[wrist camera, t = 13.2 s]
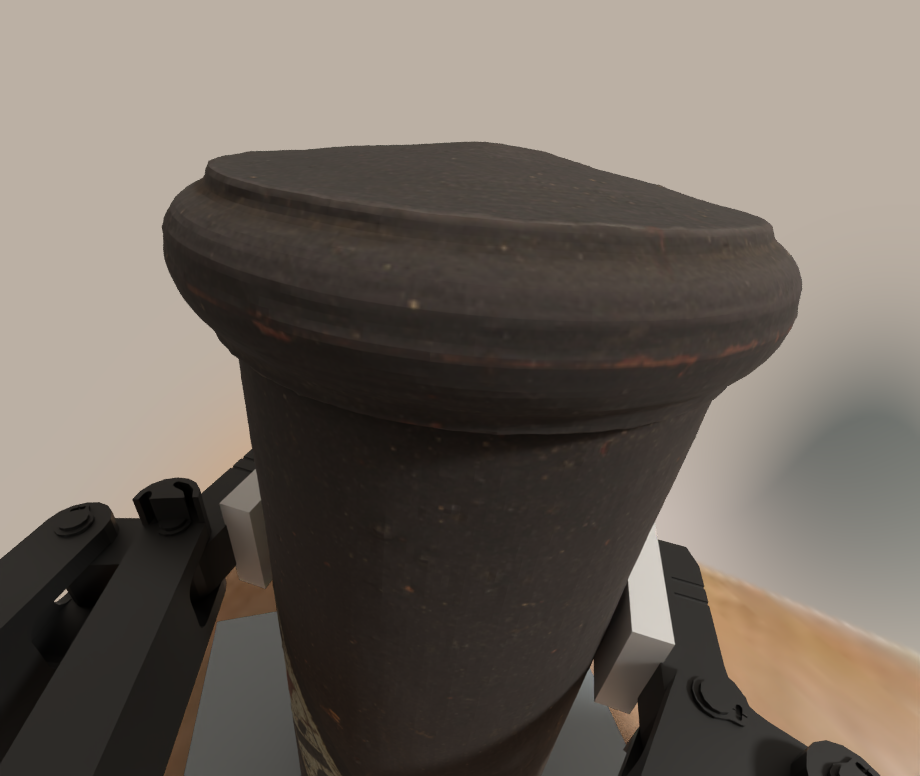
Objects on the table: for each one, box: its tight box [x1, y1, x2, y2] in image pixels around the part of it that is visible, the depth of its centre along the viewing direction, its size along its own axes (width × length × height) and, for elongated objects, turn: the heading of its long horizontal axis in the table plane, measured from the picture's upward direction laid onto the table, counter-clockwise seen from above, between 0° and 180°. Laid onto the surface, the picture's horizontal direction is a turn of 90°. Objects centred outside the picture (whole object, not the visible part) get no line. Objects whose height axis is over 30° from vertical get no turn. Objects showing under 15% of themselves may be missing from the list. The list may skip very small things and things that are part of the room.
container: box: [162, 142, 802, 776], centre depth 11 cm, size 9×9×20 cm
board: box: [184, 611, 626, 776], centre depth 17 cm, size 17×14×2 cm
